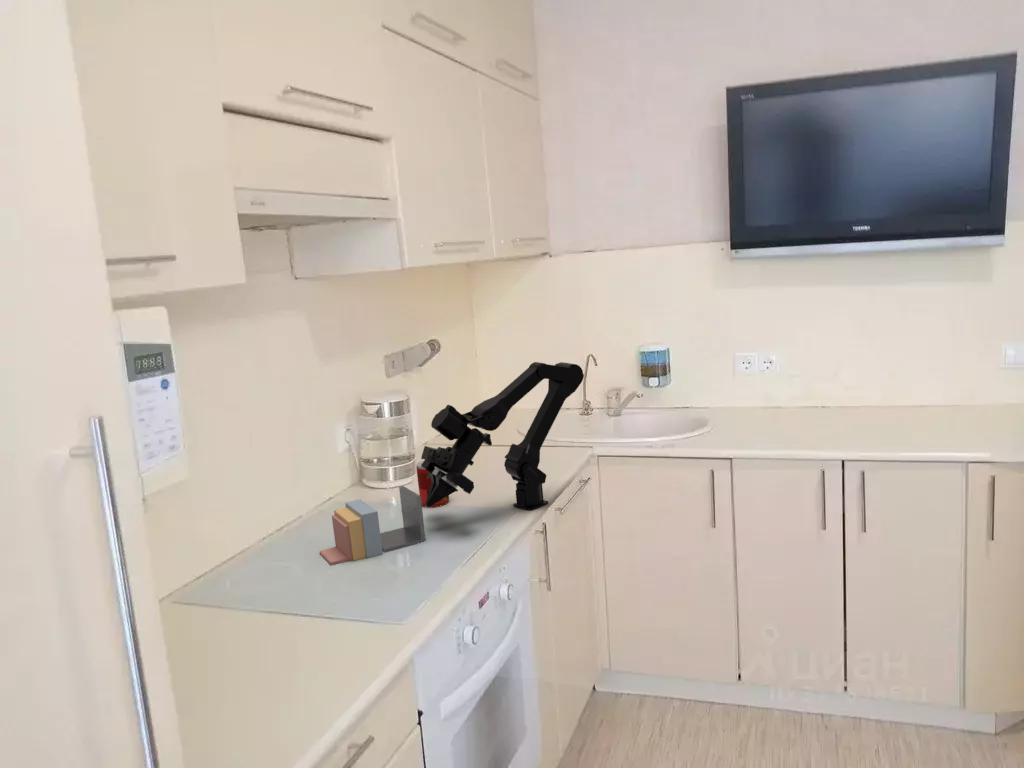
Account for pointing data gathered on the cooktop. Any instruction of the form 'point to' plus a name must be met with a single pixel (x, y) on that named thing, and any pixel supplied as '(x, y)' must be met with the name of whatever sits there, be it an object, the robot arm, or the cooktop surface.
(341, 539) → the book row
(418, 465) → the canned food
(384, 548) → the bookend
